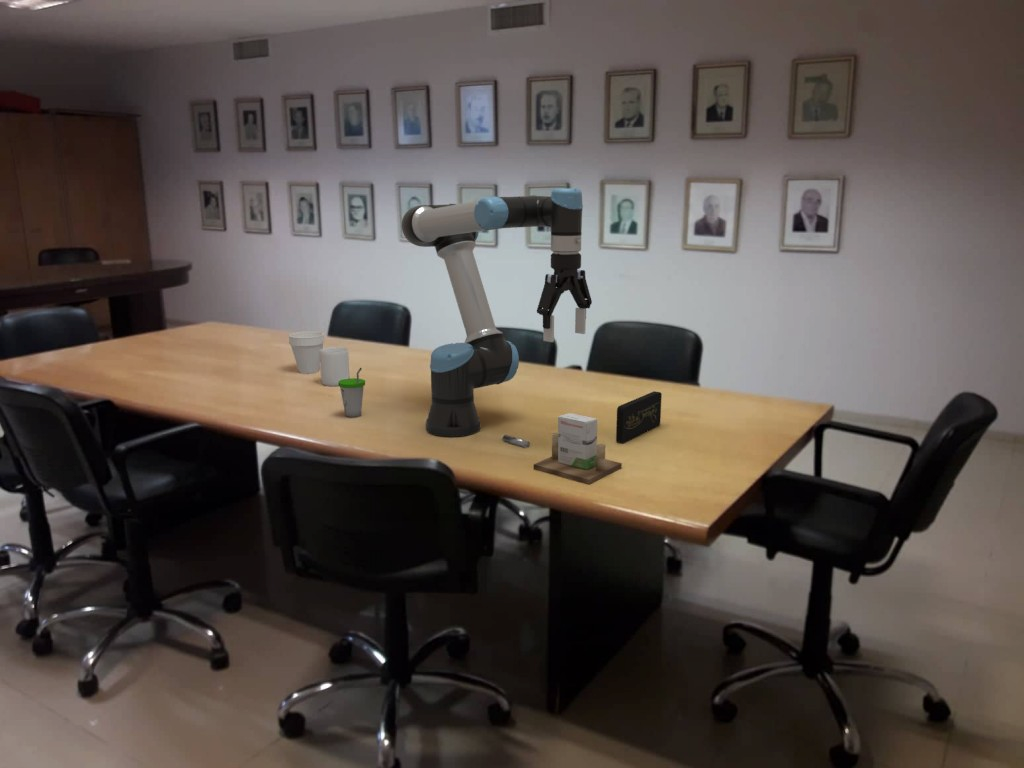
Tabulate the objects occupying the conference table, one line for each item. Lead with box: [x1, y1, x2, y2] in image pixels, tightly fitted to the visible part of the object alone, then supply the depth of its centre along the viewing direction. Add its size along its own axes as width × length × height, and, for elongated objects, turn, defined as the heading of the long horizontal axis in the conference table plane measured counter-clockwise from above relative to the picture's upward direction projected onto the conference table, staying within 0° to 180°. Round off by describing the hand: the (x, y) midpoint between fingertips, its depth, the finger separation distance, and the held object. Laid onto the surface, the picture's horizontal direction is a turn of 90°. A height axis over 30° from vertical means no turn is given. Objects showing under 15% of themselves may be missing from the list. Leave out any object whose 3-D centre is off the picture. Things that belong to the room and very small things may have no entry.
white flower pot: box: [288, 330, 325, 375], centre depth 291 cm, size 12×12×14 cm
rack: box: [533, 432, 623, 485], centre depth 194 cm, size 16×14×7 cm
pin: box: [502, 434, 531, 449], centre depth 213 cm, size 8×2×2 cm
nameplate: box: [615, 391, 663, 444], centre depth 220 cm, size 21×2×10 cm, turn 142°
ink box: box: [557, 412, 598, 470], centre depth 193 cm, size 9×5×12 cm, turn 50°
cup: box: [338, 367, 366, 419], centre depth 237 cm, size 8×8×15 cm
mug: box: [319, 346, 351, 387], centre depth 275 cm, size 10×12×12 cm
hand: (564, 337), depth 205 cm, fingers open, 13 cm apart
